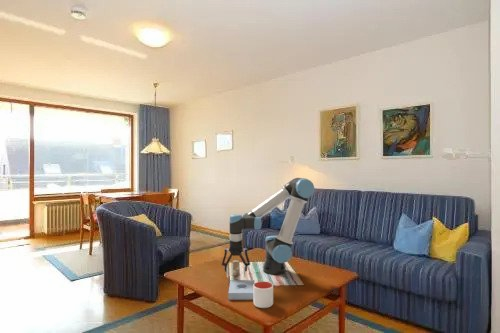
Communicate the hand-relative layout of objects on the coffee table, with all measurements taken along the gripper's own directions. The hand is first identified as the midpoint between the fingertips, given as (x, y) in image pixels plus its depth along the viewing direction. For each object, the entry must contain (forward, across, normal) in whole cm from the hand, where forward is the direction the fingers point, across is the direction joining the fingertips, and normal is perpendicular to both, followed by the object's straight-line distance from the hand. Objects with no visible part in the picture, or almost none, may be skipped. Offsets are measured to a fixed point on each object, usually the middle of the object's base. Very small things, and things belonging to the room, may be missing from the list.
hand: (236, 276), depth 189 cm
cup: (+3, -15, +32) cm, 35 cm away
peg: (+3, 0, 0) cm, 3 cm away
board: (+3, -4, +17) cm, 18 cm away
